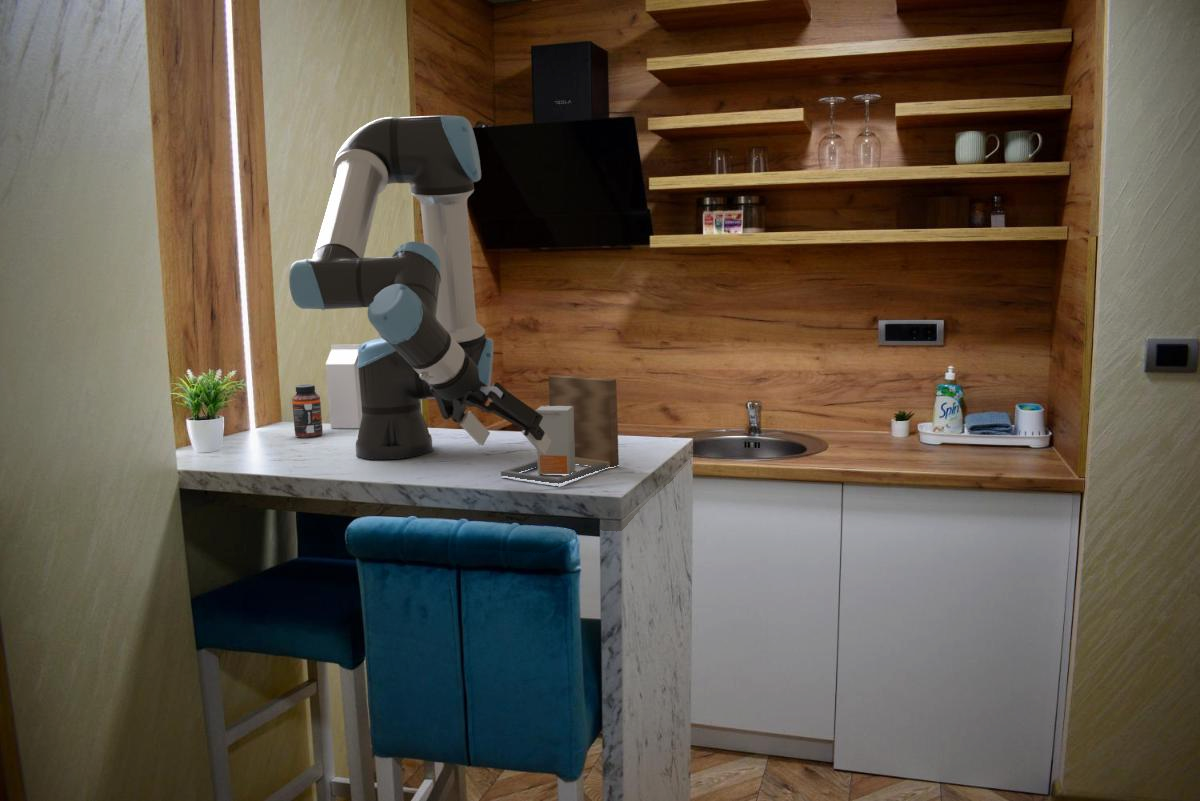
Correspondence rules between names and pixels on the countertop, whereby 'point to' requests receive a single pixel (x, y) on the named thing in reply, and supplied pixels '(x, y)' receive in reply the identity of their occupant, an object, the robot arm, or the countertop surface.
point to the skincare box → (557, 440)
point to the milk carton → (344, 386)
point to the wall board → (590, 414)
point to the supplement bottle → (307, 412)
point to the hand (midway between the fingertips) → (515, 443)
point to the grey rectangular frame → (594, 464)
